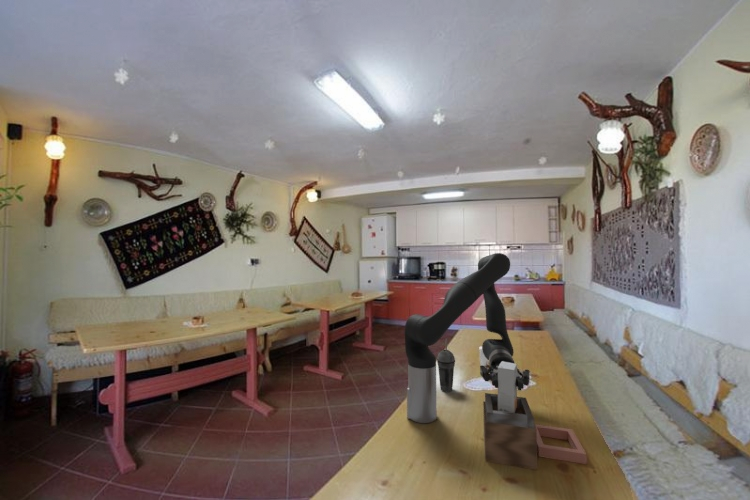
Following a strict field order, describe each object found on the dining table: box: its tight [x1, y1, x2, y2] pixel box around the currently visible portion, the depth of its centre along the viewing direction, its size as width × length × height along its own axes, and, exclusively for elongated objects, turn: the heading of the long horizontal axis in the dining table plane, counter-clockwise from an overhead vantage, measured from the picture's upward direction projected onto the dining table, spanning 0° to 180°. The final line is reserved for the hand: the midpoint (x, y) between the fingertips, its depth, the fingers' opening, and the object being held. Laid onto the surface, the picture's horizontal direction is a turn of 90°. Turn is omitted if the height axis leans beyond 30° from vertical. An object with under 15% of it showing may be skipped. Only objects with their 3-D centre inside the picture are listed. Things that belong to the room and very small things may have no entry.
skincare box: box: [497, 361, 518, 413], centre depth 85 cm, size 6×4×12 cm
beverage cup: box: [436, 338, 456, 393], centre depth 124 cm, size 7×7×20 cm
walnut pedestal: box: [482, 392, 538, 471], centre depth 84 cm, size 12×12×12 cm
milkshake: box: [478, 346, 489, 367], centre depth 152 cm, size 4×5×10 cm
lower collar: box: [534, 423, 588, 465], centre depth 86 cm, size 11×12×2 cm
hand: (508, 385), depth 82 cm, fingers closed on skincare box, 5 cm apart
